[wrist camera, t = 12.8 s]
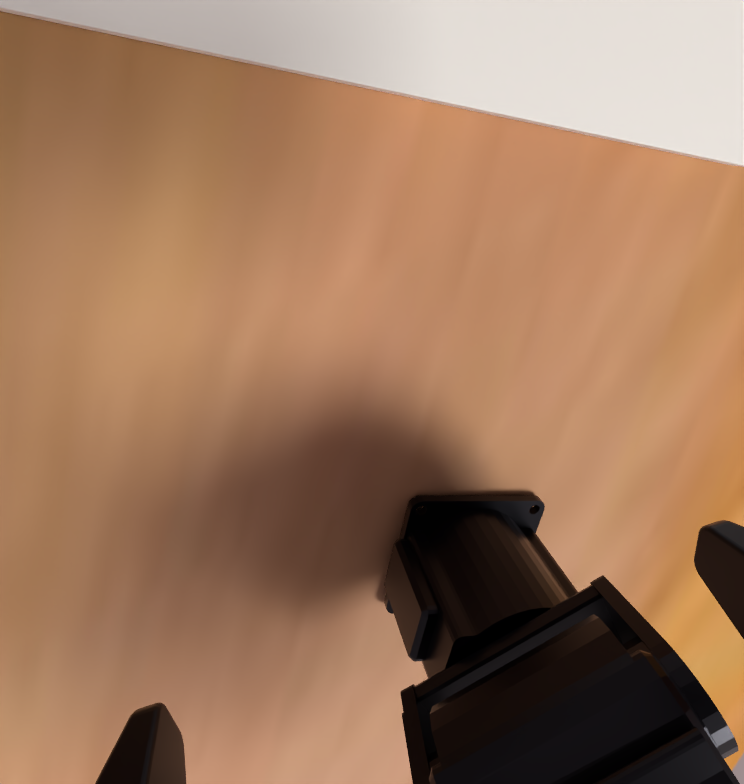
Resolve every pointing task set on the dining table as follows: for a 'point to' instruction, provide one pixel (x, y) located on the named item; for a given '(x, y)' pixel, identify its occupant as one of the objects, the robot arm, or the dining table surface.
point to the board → (480, 56)
